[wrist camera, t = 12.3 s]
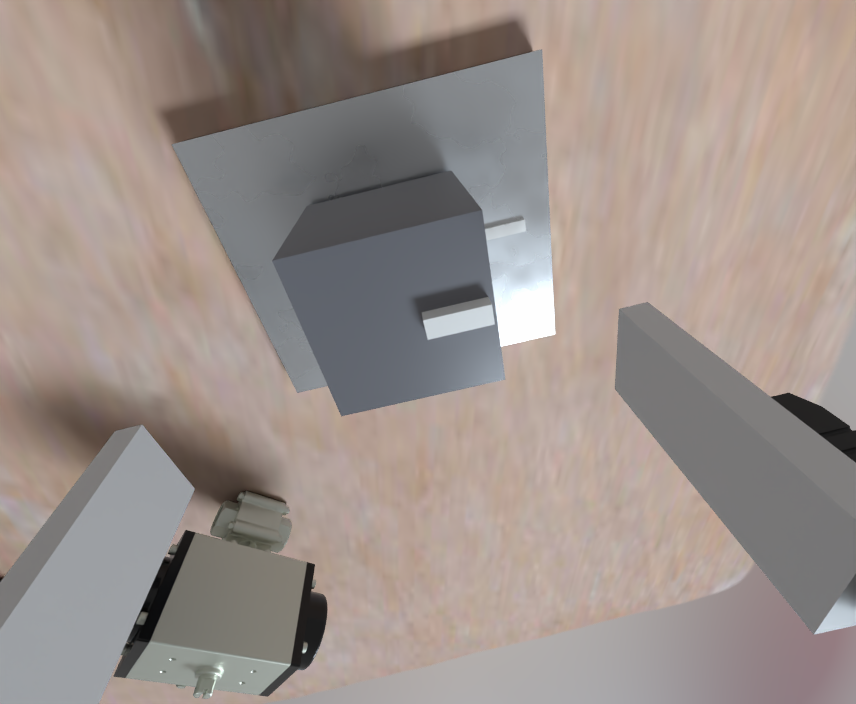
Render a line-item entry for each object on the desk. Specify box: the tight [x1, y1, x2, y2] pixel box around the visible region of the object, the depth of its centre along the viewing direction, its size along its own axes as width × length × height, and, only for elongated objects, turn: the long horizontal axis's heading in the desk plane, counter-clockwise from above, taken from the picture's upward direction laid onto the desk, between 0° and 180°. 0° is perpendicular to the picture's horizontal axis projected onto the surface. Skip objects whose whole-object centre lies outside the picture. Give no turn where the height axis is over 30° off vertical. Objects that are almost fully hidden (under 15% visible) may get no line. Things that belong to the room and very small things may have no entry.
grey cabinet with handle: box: [272, 171, 505, 416], centre depth 17 cm, size 7×7×8 cm
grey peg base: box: [172, 50, 555, 393], centre depth 19 cm, size 16×14×7 cm
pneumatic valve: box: [114, 491, 327, 699], centre depth 28 cm, size 6×12×12 cm, turn 55°
